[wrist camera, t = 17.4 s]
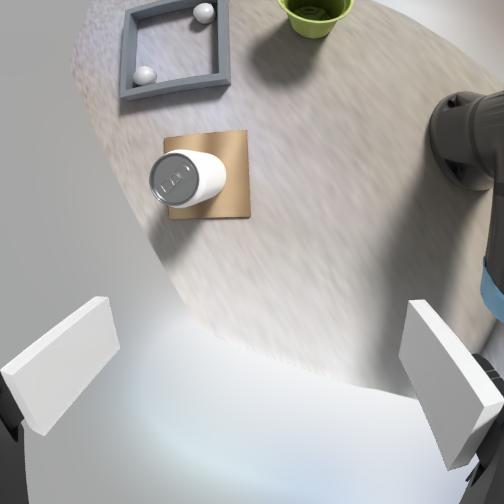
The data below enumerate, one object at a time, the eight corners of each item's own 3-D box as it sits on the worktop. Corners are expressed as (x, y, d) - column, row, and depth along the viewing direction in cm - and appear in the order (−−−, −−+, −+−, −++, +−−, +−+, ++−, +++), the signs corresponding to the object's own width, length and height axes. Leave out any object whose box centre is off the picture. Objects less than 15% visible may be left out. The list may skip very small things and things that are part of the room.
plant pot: (274, 1, 34) (270, -29, 26) (335, -3, 33) (343, -32, 24) (284, 50, 36) (282, 25, 28) (349, 47, 35) (361, 22, 27)
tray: (228, -4, 34) (224, -13, 32) (230, 84, 39) (226, 79, 36) (133, 17, 36) (125, 10, 34) (129, 100, 41) (119, 97, 38)
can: (236, 180, 42) (215, 185, 30) (200, 207, 43) (168, 222, 32) (209, 143, 41) (179, 135, 29) (174, 171, 42) (135, 174, 31)
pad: (247, 130, 40) (246, 130, 40) (250, 215, 43) (250, 216, 43) (165, 138, 42) (164, 138, 41) (170, 218, 45) (169, 219, 44)
